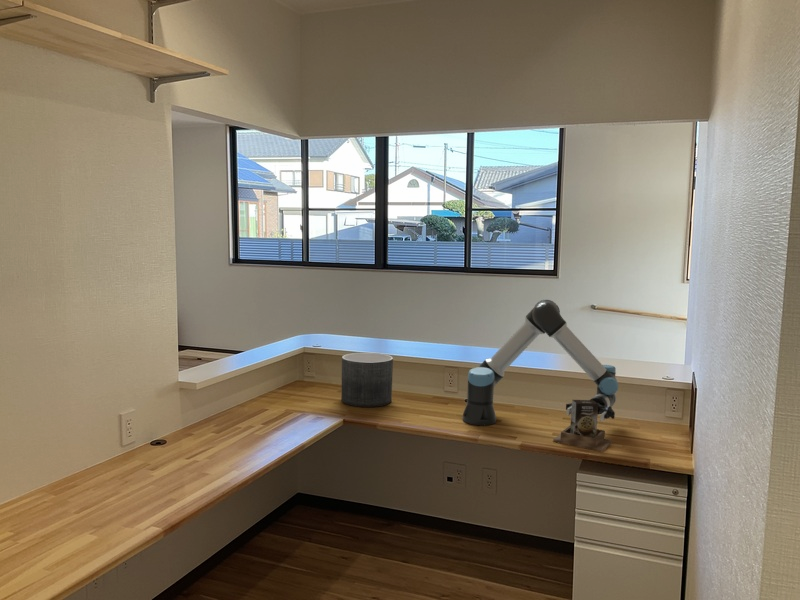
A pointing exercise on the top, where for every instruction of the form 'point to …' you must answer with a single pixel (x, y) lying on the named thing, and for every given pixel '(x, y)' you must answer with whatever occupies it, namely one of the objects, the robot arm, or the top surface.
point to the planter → (367, 379)
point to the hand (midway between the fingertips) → (584, 415)
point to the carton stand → (584, 440)
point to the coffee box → (584, 418)
